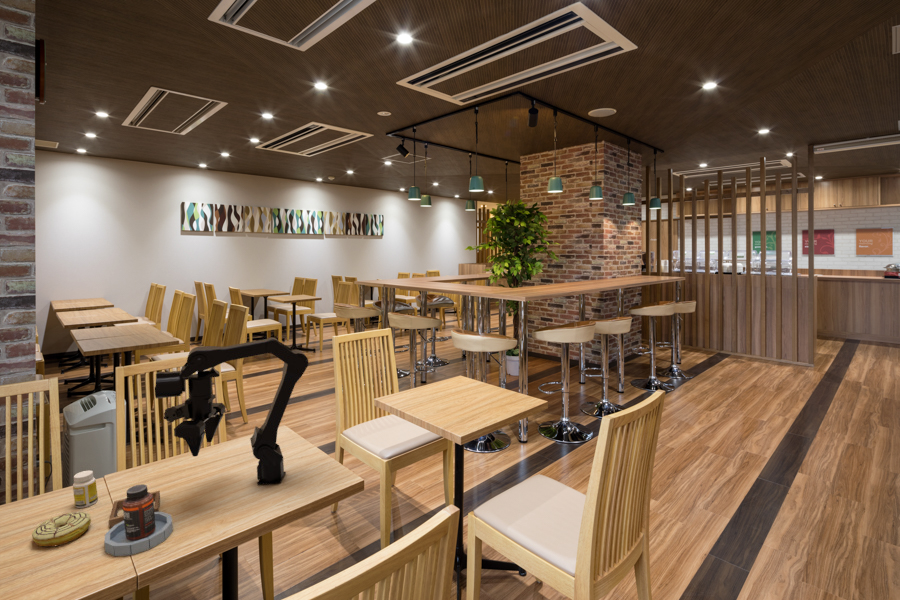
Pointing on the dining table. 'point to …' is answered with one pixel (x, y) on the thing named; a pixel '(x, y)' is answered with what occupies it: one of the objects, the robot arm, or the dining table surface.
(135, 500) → the supplement bottle
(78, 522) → the decorated donut
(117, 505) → the tray
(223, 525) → the dining table surface
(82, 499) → the supplement bottle
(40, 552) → the dining table surface
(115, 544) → the dish
